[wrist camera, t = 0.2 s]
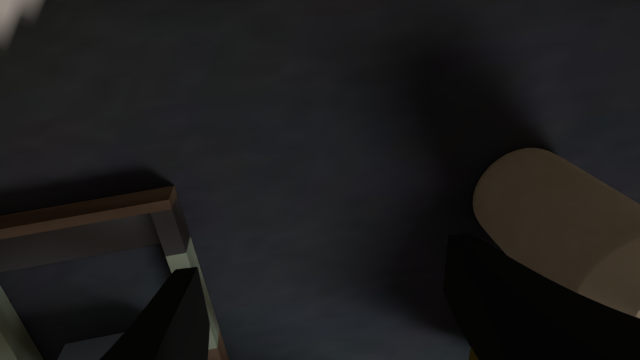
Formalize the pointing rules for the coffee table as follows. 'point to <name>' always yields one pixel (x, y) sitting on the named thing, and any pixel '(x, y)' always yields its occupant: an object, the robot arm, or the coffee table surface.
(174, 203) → the trap lane
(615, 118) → the coffee table surface
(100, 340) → the block
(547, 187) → the candle
